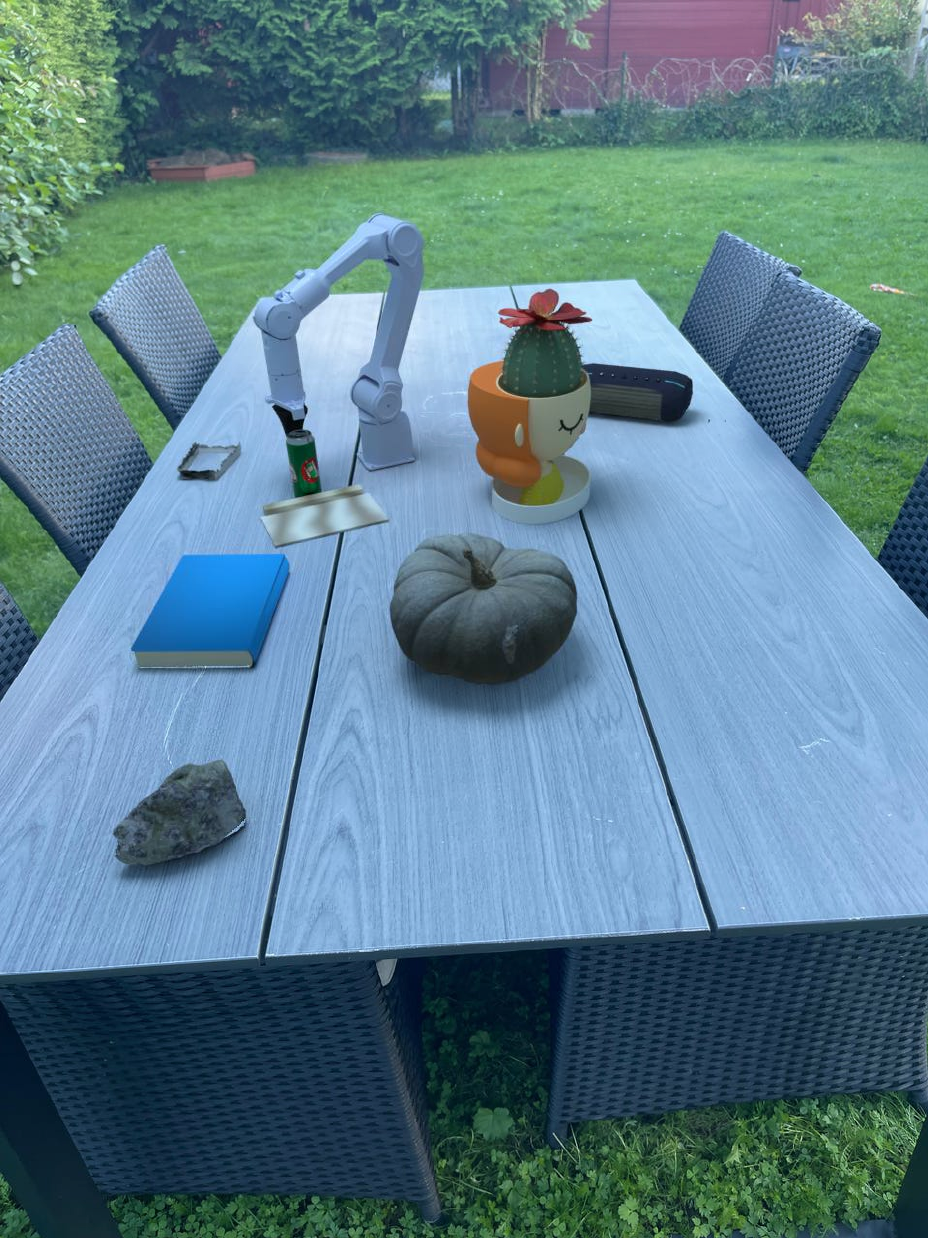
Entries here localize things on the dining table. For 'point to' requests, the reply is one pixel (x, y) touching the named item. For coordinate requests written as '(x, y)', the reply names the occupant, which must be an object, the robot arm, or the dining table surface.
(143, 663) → the book
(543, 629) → the gourd
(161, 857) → the mineral rock
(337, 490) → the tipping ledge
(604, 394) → the portable speaker
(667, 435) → the dining table surface
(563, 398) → the potted cactus
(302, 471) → the soda can
